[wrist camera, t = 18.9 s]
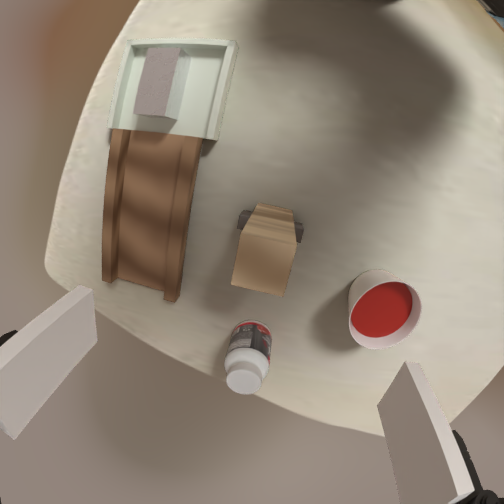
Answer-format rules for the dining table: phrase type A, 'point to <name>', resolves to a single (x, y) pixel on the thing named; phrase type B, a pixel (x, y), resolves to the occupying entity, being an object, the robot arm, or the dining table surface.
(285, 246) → the tapered wooden board
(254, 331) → the pill bottle
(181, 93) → the pinkish grey cube
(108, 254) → the slot board
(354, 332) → the white round cup
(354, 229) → the dining table surface
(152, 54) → the grey cube
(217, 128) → the tray
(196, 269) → the dining table surface
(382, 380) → the dining table surface
